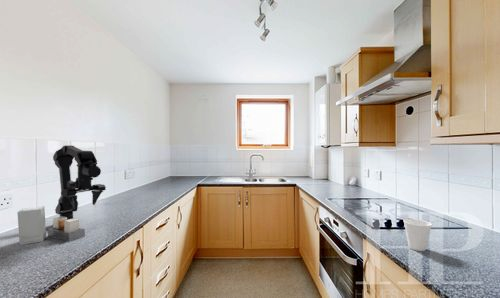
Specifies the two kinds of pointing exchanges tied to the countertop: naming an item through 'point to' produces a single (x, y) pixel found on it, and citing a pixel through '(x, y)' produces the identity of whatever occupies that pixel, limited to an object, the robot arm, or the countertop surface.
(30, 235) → the skincare box
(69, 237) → the grey holder tray
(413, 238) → the cup
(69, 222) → the pale upright block
